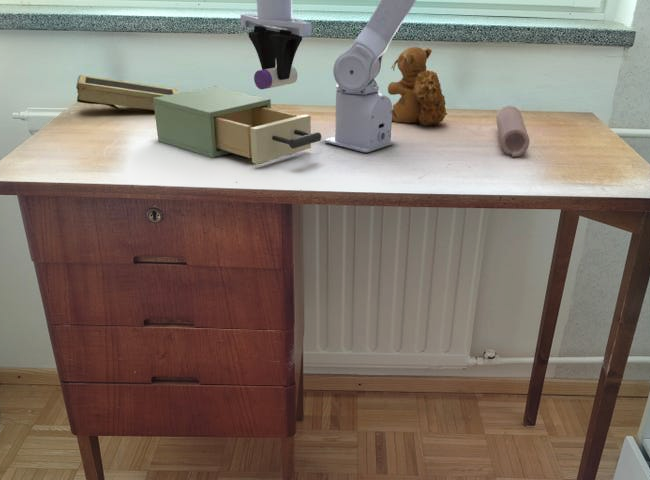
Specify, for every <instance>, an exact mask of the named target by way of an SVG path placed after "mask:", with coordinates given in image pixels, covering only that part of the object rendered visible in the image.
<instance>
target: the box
mask: <svg viewBox="0 0 650 480" xmlns="http://www.w3.org/2000/svg"><path fill="white" fill-rule="evenodd" d="M75 88H76V91H77V92H76V93H77V97H76V102H77V103H81V104H86V105H87V104H89V105H102V106H103V105H104V106H107V107H110V108H113V109H115V110H117V111H119V112H122V110H121V109H120V107H127V108H135V109H142V110H150V111H155V110H154V101H153V98H156V97H161V96H166V95H172V94H177V93H180V91H179V89H178V88H173V87H167V86H166V87H165V86H160V85H153V84H152V85H150V84H146V83H139V82H132V81H126V80H118V79H112V78H103V77H98V76H90V75H85V74H84V75H83V74H79V75H78V77H77V81H76V86H75ZM118 106H120V107H118Z"/></svg>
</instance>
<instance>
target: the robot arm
mask: <svg viewBox="0 0 650 480" xmlns="http://www.w3.org/2000/svg"><path fill="white" fill-rule="evenodd" d="M416 2H417V0H380V1H379V3H378V4H377V6H376V8H375V10H374V11H373V12H372V15H371V16H370V17H369V20H368V21H367V23H366V25H364V28H363V29H362V30H361V31H360V33H359V34H358V36H356V38H355V40H354V41H353V43H352V45H351V46H350V47H349V49H347V50H346V51H344V52H342V53H341V54H340V55H338V57H337V58H336V59H335V61H334V64H333V70H332V71H333V78H334V80H335V82H336V85H335V122H334V123H335V124H334V125H335V127H334V128H335V129H334V131H335V132H334V133H335V134H334V136H332V137H328V138H325V139H324V143H327V144H331V145H334V146H338V147H341V148H346V149H350V150H354V151H357V152H361V153H365V154H367V153H370V152H374V151H376V150H379V149H382V148H386V147H388V146H391V145H394V141H393V140H391V139H392V123H393V121H392V110H393V104H392V101H391V99H390V97H388V96H386V95H384V94H382V93H381V92H380V91H379V89H380V88H379V85H378V83H377V81H376V79H375V78H377V76H378V75H379V73H380V71H381V68H382V60H383V57H384V55H385V53H386V51H387V50H388V49H389V46H390V44H391V42H392V40H393V39H394V37H395V36H396V33H397V32H398V30H399V29H400V27H401V26H402V24H403V23H404V21H405V20H406V18H407V16H408V14H409V13H410V12H411V10H412V8H413V7H414V5H415V3H416ZM256 12H257V13H240V27H241V28H253V31H249V32H248V38H249V39H250V42H251V43H252V45H253V47H254V49H255V52H256V54H257V56H258V60H259V63H260V66H261V70H264V69H270V68H276V67H277V75H278V79H279V80H284V79H289V77H290V72H291V67H292V66H293V62H294V59H295V57H296V53H297V51H298V49H299V46H300V45H301V42H302V41H303V37H309V36H311V37H312V22H310V21H305V20H302V19H298V18H296V17H295V16H293V0H256Z"/></svg>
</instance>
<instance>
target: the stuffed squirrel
mask: <svg viewBox="0 0 650 480" xmlns="http://www.w3.org/2000/svg"><path fill="white" fill-rule="evenodd" d="M432 52H433V50H432V49H431V48H430V47H429V48H425V49H423V48H421V47H418V46H410V47H408V48H406V49H405V50H403V51H402V52H401V53H400V54H399V55H398V57H397V59H396V60H395V61H394V62H393V64H392V65H391V69H392V71H393V72H395V67H396V66H397V68H398V70H399V71H400V73H401V76H402V77H401V79H400V80H399V81H393V82H392V81H391V82H390V83H389V84H388V86H387V93H388V95H391V96H396V95H400V97H399V99H398V101H397V102H396V103H394V104H392V122H396V123H404V124H407V123H408V124H415V123H418V124H419V125H421V126H427V127H428V126H432V125H433V126H434V125H439V124H440V123H441V122H443V121H444V119H445V117H446V116H447V115H448V114H449V113H447V111H446V110H447V109H446V99H445V95H444V94H443V92H442V91H443V89H442V88H441V82H440V80H439V76H438V73H437V72H435V71H433V70H429V69H427V60H428V59H429V58H430V56H431V54H432Z"/></svg>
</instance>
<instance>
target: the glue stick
mask: <svg viewBox="0 0 650 480" xmlns="http://www.w3.org/2000/svg"><path fill="white" fill-rule="evenodd" d="M297 80H298V70H297V69H296V67H295V66H294V65H292V67H291V72H290V77H289V79H284V80H279V79H278V75H277V66H276V68H270V69H264V70H262V69H260V70H259V69H258V70H256V71H255V73H254V75H253V82H254V83H255V84H254V85H255V86H256V87H257V88H258V90H267V89H272V88H277V87H281V86H287V85H292V84H295V83H296V82H297Z"/></svg>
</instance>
